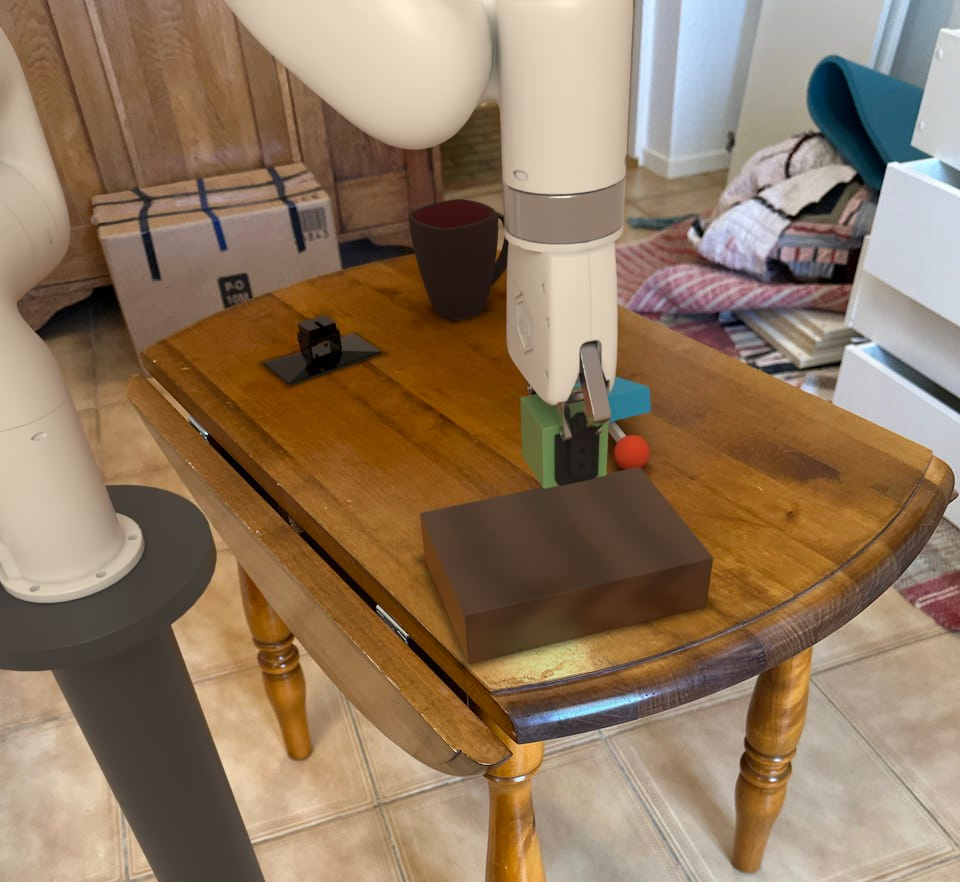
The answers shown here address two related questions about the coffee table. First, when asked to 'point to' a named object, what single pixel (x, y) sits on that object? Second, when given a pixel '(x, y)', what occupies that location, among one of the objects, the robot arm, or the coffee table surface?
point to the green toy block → (549, 437)
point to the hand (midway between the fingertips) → (562, 458)
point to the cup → (458, 254)
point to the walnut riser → (562, 563)
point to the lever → (624, 404)
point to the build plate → (320, 351)
